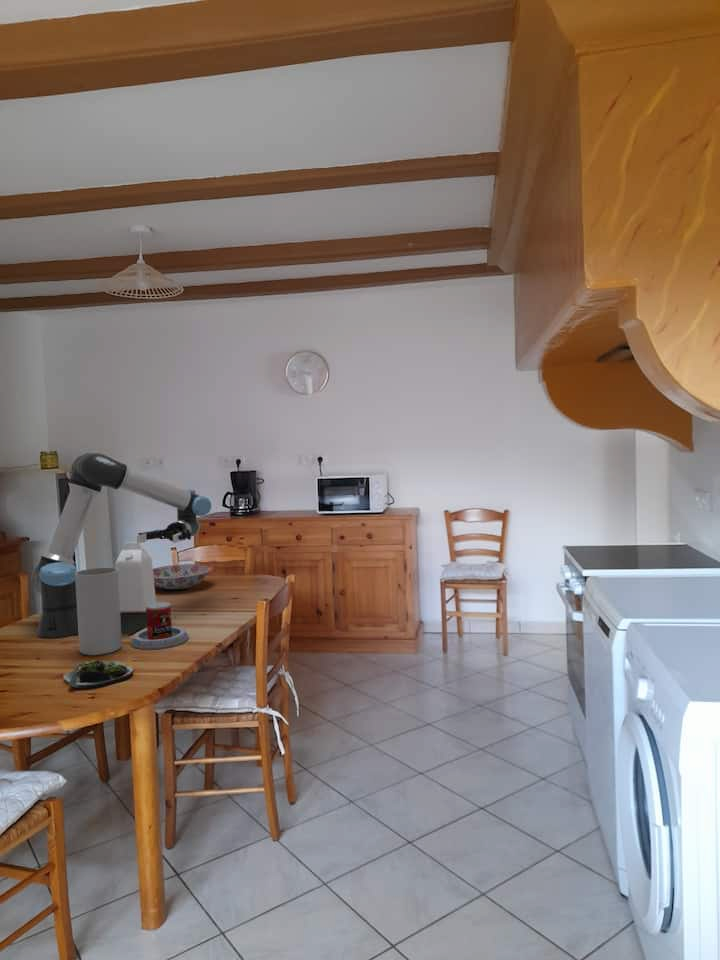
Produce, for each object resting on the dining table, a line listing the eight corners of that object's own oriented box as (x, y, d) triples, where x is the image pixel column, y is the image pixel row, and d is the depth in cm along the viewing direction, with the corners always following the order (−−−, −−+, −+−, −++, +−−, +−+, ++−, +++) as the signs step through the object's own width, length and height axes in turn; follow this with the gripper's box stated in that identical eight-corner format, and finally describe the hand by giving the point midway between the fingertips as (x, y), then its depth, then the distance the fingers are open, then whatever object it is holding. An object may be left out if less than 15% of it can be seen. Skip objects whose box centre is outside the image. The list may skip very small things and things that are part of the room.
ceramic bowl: (158, 599, 277) (157, 580, 277) (135, 587, 301) (134, 570, 300) (223, 588, 295) (222, 570, 294) (196, 578, 318) (196, 561, 318)
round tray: (146, 653, 205) (146, 645, 205) (121, 642, 218) (121, 634, 218) (198, 640, 217) (198, 632, 217) (172, 629, 230) (171, 622, 230)
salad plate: (49, 677, 187) (48, 661, 187) (112, 662, 199) (111, 646, 199) (74, 696, 173) (73, 678, 172) (140, 677, 185) (139, 661, 185)
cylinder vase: (128, 643, 216) (123, 567, 215) (112, 655, 204) (108, 574, 202) (89, 644, 217) (85, 568, 215) (72, 656, 204) (67, 576, 203)
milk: (156, 603, 269) (153, 540, 268) (144, 611, 258) (140, 544, 256) (127, 604, 270) (124, 540, 269) (114, 611, 259) (111, 545, 257)
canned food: (153, 643, 212) (151, 609, 211) (143, 637, 218) (142, 604, 218) (176, 638, 217) (174, 604, 216) (166, 633, 223) (164, 600, 222)
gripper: (209, 540, 260) (189, 549, 239) (148, 541, 263) (123, 550, 242) (208, 521, 260) (188, 528, 239) (147, 522, 263) (122, 529, 241)
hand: (155, 539), depth 240 cm, fingers open, 13 cm apart
